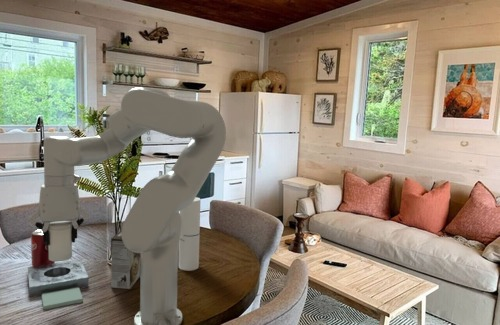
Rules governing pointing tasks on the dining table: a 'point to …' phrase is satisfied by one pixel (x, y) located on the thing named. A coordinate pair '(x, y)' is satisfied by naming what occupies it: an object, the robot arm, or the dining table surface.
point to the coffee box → (123, 264)
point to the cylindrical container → (190, 236)
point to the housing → (47, 280)
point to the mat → (61, 298)
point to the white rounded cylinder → (60, 240)
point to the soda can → (39, 249)
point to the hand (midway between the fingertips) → (60, 242)
